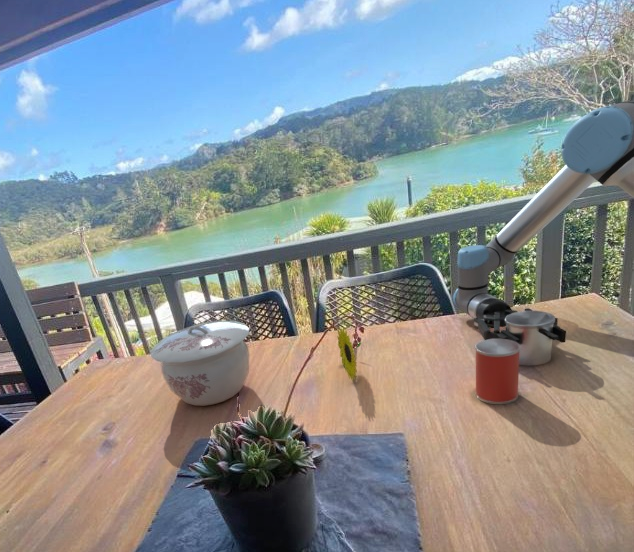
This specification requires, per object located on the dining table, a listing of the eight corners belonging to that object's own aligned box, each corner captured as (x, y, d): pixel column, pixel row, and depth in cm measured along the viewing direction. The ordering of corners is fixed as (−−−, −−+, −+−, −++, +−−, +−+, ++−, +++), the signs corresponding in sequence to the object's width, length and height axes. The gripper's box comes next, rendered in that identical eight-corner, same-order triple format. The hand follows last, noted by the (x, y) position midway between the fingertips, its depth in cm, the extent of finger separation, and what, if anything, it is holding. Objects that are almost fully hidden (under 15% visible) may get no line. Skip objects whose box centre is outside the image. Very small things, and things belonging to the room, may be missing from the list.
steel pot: (536, 346, 107) (538, 307, 103) (576, 370, 94) (580, 327, 90) (496, 353, 108) (496, 315, 105) (530, 378, 95) (532, 336, 92)
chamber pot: (265, 407, 110) (248, 331, 102) (160, 428, 112) (136, 355, 104) (257, 363, 135) (244, 300, 127) (172, 381, 137) (154, 320, 130)
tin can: (505, 383, 95) (506, 335, 91) (526, 400, 88) (528, 349, 84) (469, 389, 96) (468, 342, 92) (486, 407, 89) (486, 357, 85)
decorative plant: (343, 322, 132) (315, 332, 106) (362, 317, 129) (338, 326, 103) (355, 369, 133) (330, 390, 106) (374, 365, 130) (354, 386, 104)
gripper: (531, 316, 118) (591, 347, 97) (448, 331, 120) (489, 364, 100) (532, 289, 115) (594, 315, 94) (447, 306, 118) (489, 334, 97)
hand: (540, 341), depth 97 cm, fingers closed on steel pot, 9 cm apart
